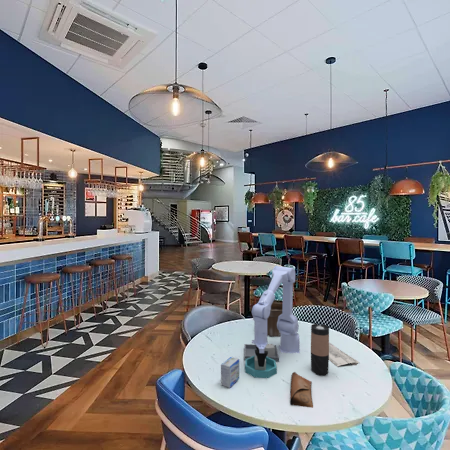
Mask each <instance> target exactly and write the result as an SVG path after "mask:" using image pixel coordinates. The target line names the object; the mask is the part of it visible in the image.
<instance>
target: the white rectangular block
mask: <svg viewBox="0 0 450 450" xmlns="http://www.w3.org/2000/svg"><path fill="white" fill-rule="evenodd" d="M255 370H266V359H265V363H264V367H259V365H258V359H257V356H255Z"/></svg>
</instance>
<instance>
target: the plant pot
mask: <svg viewBox="0 0 450 450" xmlns="http://www.w3.org/2000/svg"><path fill="white" fill-rule="evenodd" d="M282 306H283V303H281V302H273V303H272V305H271V310H270V315H269V317H268V318H267V337H271V338H273V337H274V338H275V337H276V338H278V337H280V336H281V333H280V332H279V330H278V328H277V322H278V317H279V316H280V315H281V314H282Z"/></svg>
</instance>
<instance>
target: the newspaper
mask: <svg viewBox="0 0 450 450" xmlns="http://www.w3.org/2000/svg"><path fill="white" fill-rule="evenodd" d="M329 362H330V363H332V364H333V365H334V366H335V367H337V368H338V367H340V366H343V365H348V364H350V363H351V364H350V365H352V366H353V365H354V366H357V365H358V364H359V363H360V362H359V361H358V360H356V359H355V358H354V357H352V356H350V355H349V354H348V353H346V352H344V351H343V350H341V349H339V348H338V347H337V346H335V345H334V344H333V343H331V342H329Z"/></svg>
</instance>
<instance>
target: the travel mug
mask: <svg viewBox="0 0 450 450" xmlns="http://www.w3.org/2000/svg"><path fill="white" fill-rule="evenodd" d="M310 328H311V329H310V370H311V372H312V373H313V374H314V375H316V376H320V377H325V376H328V374H329V366H330V365H329V362H330V360H329V343H330V327H329V326H328V325H326V324H318V323H313V324H311V327H310Z"/></svg>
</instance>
